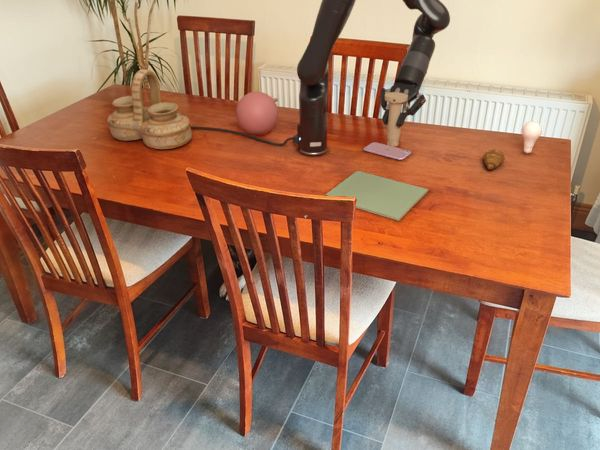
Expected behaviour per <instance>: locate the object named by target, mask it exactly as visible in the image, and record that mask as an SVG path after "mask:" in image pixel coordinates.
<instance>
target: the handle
mask: <svg viewBox="0 0 600 450" xmlns="http://www.w3.org/2000/svg"><path fill="white" fill-rule="evenodd" d="M385 100H386V101H387V103H389V104H390V107H389V116H388V124H387V125H386V139H387V141H386V145H389V146H391V147H398V145H400V138H401V133H402V126H401V127H400V128H399V127H397V126H396V123H397V120H398V117H399V115H400V113H402V107H403V104H402V103H404V102H406V101H407V100H408V95H407V94H404V93H398V92H389V93H386V94H385Z"/></svg>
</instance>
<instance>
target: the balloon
mask: <svg viewBox="0 0 600 450" xmlns="http://www.w3.org/2000/svg"><path fill="white" fill-rule="evenodd" d="M278 101H279V99H278V98H277V97H274V98H273V97H272V96H270V95H269V94H268V93H265V92H262V91H251V92H249V93H246V94H245V95H244V96H242V97H241V99H240V100H239V101H238V103H237V105H236V107H235V117H236V121H237V123H238V125H239V126H240V128H241V129H242V130H243V131H245V132H246V133H247V134H249V135H253V136H254V135H255V136H261V135H264V134H267V133H269V132H270V131H271V130H273V129H274V128H275V126H276V124H277V122H278V120H279V109H278V108H279V107H278V105H277V102H278Z"/></svg>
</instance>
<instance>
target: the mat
mask: <svg viewBox="0 0 600 450" xmlns="http://www.w3.org/2000/svg"><path fill="white" fill-rule="evenodd" d="M428 193H429V189H428V188H426V187H421V186H418V185H415V184H410V183H406V182H402V181H398V180H395V179H391V178H387V177H385V176H384V177H383V176H380V175H376V174H372V173H368V172H366V171H365V172H364V171H360V170H355V171H354V172H353V173H352V174H350V175H349V176H348V177H346V178H345V179H344V180H342V181H341V182H339V183H338V184H336V186H334V187H333V188H332V189H330V190H329V191H328V192H326V193H325V194H324V195H328V196H346V197H356V199H357V202H356V208H355V209H357V210H361V211H364V212H369V213H371V214H375V215H378V216H382V217H384V218H387V219H391V220H395V221H397V222H398V221H400V220H401V219H402V218H403V217H404V216H405V215H406V214H407V213H408V212H409V211H410V210H411V209H412V208H413V207H414V206H415V205H416V204H417V203H418V202H419V201H420V200H421V199H422V198H423V197H424V196H425V195H426V194H428Z"/></svg>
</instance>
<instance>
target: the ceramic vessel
mask: <svg viewBox="0 0 600 450" xmlns="http://www.w3.org/2000/svg"><path fill="white" fill-rule="evenodd" d="M146 78H147V81H148V86H149V96H150V97H149V98H150V105H149V106H145V105H144V98H143V83H144V80H145V79H146ZM130 90H131V91H130V92H131V95H123V96H120V97H117V98H116V99H114V100H113V101H111V102H112V103H111V104H112V106H113V107H115V108H116V110H114V111H112V113H110V114H109V115H108V116H107V118H106V121H107V122H106V123H108V128H109V131H110V135H111V137H112V138H114V139H116V140H118V141H124V142H128V141H129V142H130V141H136V140H142V142H143V144H144V145H145V146H146V147H148V148H151V149H156V150H169V149H170V150H172V149H176V148H180V147H182V146H185V145H186V144H188V143H189V142H190V141H191V140H192V138H193V132H192V129H191V127H190V126H191V120H190V118H188V116H187V115H184V114H182V112H177V111H179V108H180V107H179V105H178V104H177V103H175V102H171V101H163V102H162V96H161V85H160V82H159V78H158V76H157V75H156V73H155V72H153V70H151V69H147V68H141V69H139V70H137V71H136V73H135V74H134V75H133V78H132V81H131V89H130Z"/></svg>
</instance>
